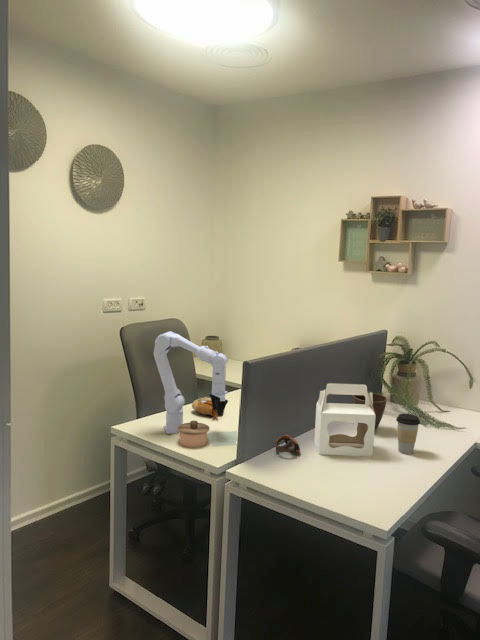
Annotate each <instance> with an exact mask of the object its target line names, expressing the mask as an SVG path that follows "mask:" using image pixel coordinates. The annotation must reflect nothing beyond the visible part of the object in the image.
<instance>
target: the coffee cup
mask: <svg viewBox="0 0 480 640" xmlns="http://www.w3.org/2000/svg"><path fill="white" fill-rule="evenodd" d="M395 421H396V422H397V447H398V448H397V449H398V452H399V453H400V454H403V455H412V454H413V453H414V450H415V449H414V448H415V444H416V441H417V437H418V431H419V425H421V420H420V419H419V417H418V416H417V415H415V414H411V413H399V414H398V416H396V420H395Z"/></svg>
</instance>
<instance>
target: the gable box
mask: <svg viewBox="0 0 480 640" xmlns="http://www.w3.org/2000/svg"><path fill="white" fill-rule="evenodd" d="M325 386H326V387H325V389H323V390H321V389H320V390H319V395H318V396H319V397H318V400H317V402H316V406H315V423H314V425H315V426H314V441H313V442H314V445H315V448H316V451H317V453H318V455H320V456H321V455H324V456H347V457H351V456H353V457H358V456H359V457H373V455H374V446H375V445H374V442H375V432H374V431H375V418H376V414H375V411H374V408H373V393H374V392H373V391H368V386H367V384H363V383H361V384H360V383H335V382H333V383H332V382H328V383H326V385H325ZM328 395H345V396H347V395H349V396H350V395H351V396H354V395H361V396H363V395H364V396H365V404H354V403H337V402H336V403H333V402H327V397H328ZM332 422H341V423H347V424H357V427H356V435H354V436H350V435H347V434H343V433H342V434H341V433H338V434H337V433H336V434H333V435H330V434H329V433H330V432H329V429H328V425H329V424H330V423H332Z"/></svg>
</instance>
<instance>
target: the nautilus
mask: <svg viewBox="0 0 480 640" xmlns="http://www.w3.org/2000/svg"><path fill="white" fill-rule="evenodd" d="M191 407H192V409H193V410H195V411H196V412H198V413H199V414H201V415H209V416H212V417H213V418H212V420H211V421H214V420H215V419H216V420H218V419H219V418H218V417H219V416H218V414H217V410H213V406H212V401H211V398H210V396H209V397H208V396H206V397H201V398H198V399H195V400H194V401H193V402H192V404H191Z"/></svg>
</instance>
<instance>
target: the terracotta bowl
mask: <svg viewBox="0 0 480 640" xmlns="http://www.w3.org/2000/svg"><path fill="white" fill-rule="evenodd" d="M207 433H208V432H206V433H204V434H198V435H189V434H184V433H181V432H180V433H179V444H180V445H182V446H184V447H188V448H198V447H203V446H205V445H207V441H208V438H207Z"/></svg>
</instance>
